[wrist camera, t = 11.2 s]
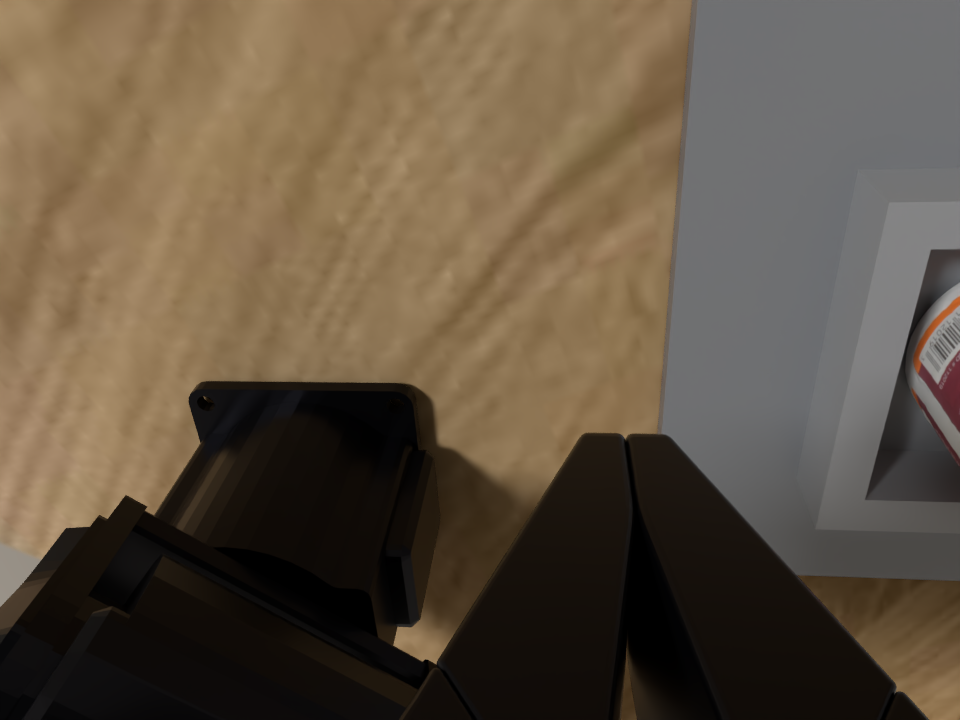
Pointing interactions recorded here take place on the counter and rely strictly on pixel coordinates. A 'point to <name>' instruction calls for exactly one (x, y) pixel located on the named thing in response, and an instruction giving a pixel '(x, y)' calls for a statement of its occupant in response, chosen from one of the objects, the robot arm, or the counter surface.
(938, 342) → the pill bottle
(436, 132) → the counter surface
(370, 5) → the counter surface
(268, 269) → the counter surface
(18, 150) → the counter surface
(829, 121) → the bottle stand
